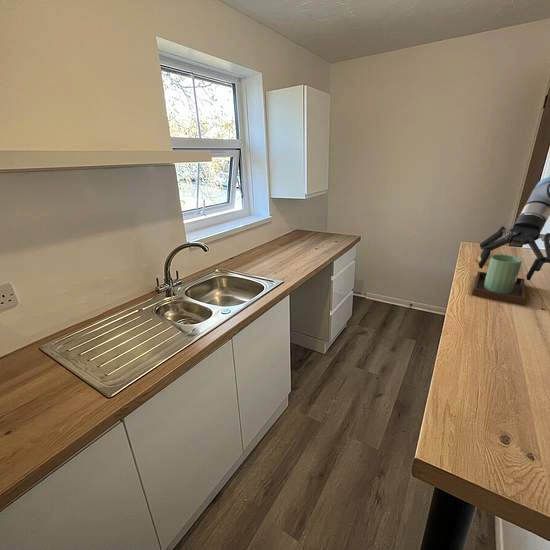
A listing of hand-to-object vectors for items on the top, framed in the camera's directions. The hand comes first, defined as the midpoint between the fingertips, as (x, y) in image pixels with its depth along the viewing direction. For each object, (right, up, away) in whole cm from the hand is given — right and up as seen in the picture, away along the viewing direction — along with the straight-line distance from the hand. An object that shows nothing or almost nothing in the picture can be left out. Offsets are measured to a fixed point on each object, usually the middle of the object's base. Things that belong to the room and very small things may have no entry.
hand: (502, 272), depth 99 cm
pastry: (+14, +4, +26) cm, 30 cm away
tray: (0, -6, +3) cm, 7 cm away
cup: (0, -6, +3) cm, 6 cm away
